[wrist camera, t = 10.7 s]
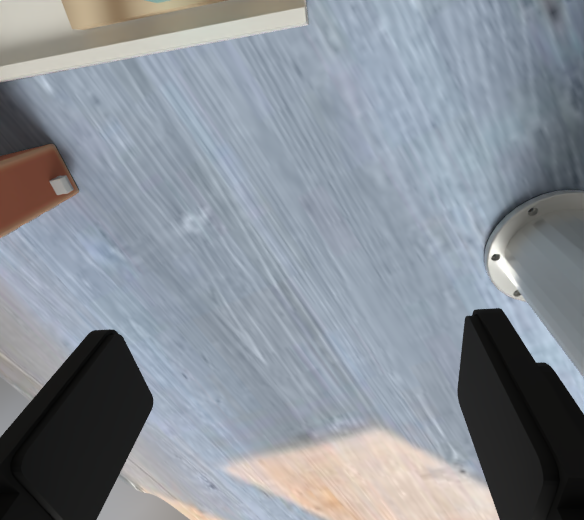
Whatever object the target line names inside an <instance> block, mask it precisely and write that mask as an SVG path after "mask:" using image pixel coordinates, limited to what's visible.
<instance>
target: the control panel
mask: <svg viewBox="0 0 584 520" xmlns="http://www.w3.org/2000/svg"><path fill="white" fill-rule="evenodd" d="M78 192H79V190H78V188H77V186H76V184H75V182H74V180H73V178H72V177H71V175H70V173H69V171H68V169H67V167H66V165H65V163H64V161H63V160H62V158H61V156H60V154H59V152H58V150H57V148H56V146H55V145H54V144H48V145H44V146H40V147H36V148H31V149H27V150H23V151H19V152H15V153H11V154H7V155H2V156H0V238H1V237H4V236H6V235H8V234H10V233H11V232H13V231H15V230H16V229H18V227H20V226H22V225H23V224H25V223H29V222H30V221H32V220H34V219H35V218H37V217H39V216H40V215H41V214H43V213H44V212H47V211H49V210H51V209H53V208H54V207H56V206H58V205H59V204H60V203H62V202H63V201H65V200H67V199H69V198H70V197H72V196H74V195H76V194H77V193H78Z"/></svg>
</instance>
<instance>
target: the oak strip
mask: <svg viewBox="0 0 584 520" xmlns="http://www.w3.org/2000/svg"><path fill="white" fill-rule="evenodd" d="M61 1H62V4H63V6H64V9H65V12H66V14H67V17H68V19H69V22H70V25H71V27H72V29H77V30H86V29H91V28H96V27H101V26H105V25H110V24H115V23H120V22H125V21H130V20H135V19H139V18H144V17H149V16H154V15H159V14H164V13H169V12H173V11H178V10H183V9H188V8H193V7H198V6H203V5H207V4H212V3H217V2H222V1H227V0H170V1H165V2H160V3H154V2H150V1H146V0H61Z"/></svg>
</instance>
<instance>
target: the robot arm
mask: <svg viewBox="0 0 584 520" xmlns="http://www.w3.org/2000/svg"><path fill="white" fill-rule="evenodd" d="M484 263H485V268H486V271H487V274H488V276H489V278H490V279H491V281H492V282H493V284H494V285H495V286H496V287H497V289H498V290H500V291H501V292H502V293H504V294H505V295H507V296H509V297H511V298H513V299H517V300H520V301H524V302H527V303H528V304H529V305H530V307H531V308H532V309H533V311H534V312H535V313H536V315H537V316H538V317H539V319H540V320H541V321H542V323H543V324H544V326H545V327H546V328H547V330H548V331H549V332H550V334H551V335H552V336H553V338H554V339H555V340H556V342H557V343H558V344H559V346H560V347H561V348H562V350H563V351H564V352H565V354H566V355H567V356H568V358H569V359H570V360H571V362H572V363H573V364H574V366H575V367H576V368H577V370H578V371H579V372H580V374H581V375H582V376H583V378H584V190H561V191H554V192H550V193H546V194H543V195H540V196H538V197H535V198H533V199H530V200H528V201H527V202H525V203H523V204H521V205H520V206H518V207H516V208H515V209H514V210H513V211H511V212H510V213H509V214H508V215H506V216H505V217H504V218H503V220H502V221H501V222H500V223H499V224H498V225H497V226H496V228H495V229H494V231H493V232H492V234H491V235H490V238H489V240H488V242H487V245H486V249H485V254H484ZM458 399H459V404H460V407H461V410H462V413H463V415H464V418H465V421H466V424H467V427H468V430H469V433H470V435H471V438H472V441H473V444H474V447H475V450H476V453H477V456H478V458H479V461H480V464H481V467H482V470H483V473H484V476H485V478H486V481H487V484H488V487H489V490H490V493H491V496H492V499H493V501H494V504H495V507H496V510H497V513H498V516H499V519H500V520H584V414H583V413H582V411H581V410H580V408H579V407H578V405H577V404H576V402H575V401H574V399H573V398H572V396H571V395H570V393H569V392H568V390H567V389H566V387H565V386H564V384H563V383H562V381H561V380H560V379H559V377H558V376H557V374H556V373H555V371H554V370H553V369H552V368H551V366H549V365H548V364H546V363H536V362H535V360H534V359H533V357H532V356H531V354H530V353H529V351H528V349H527V348H526V346H525V345H524V343H523V342H522V340H521V338H520V337H519V335H518V334H517V332H516V331H515V329H514V327H513V326H512V324H511V323H510V321H509V320H508V318H507V316H506V315H505V313H504V312H503V311H502V309H500V308H496V309H478V310H474V312H473V315H472V316H466V318H465V324H464V333H463V343H462V352H461V362H460V371H459V381H458ZM152 407H153V396H152V394H151V392H150V390H149V388H148V386H147V384H146V382H145V380H144V378H143V376H142V374H141V372H140V370H139V368H138V366H137V364H136V362H135V360H134V358H133V356H132V354H131V352H130V350H129V348H128V346H127V344H126V342H125V340H124V338H123V337H122V336H121V335H120V334H118V333H117V332H116V331H115V330H94V331H92V332H90V333H89V334H88V335H87V336H86V338H85V339H84V340H83V341H82V342H81V343H80V345H79V346H78V347H77V348H76V349H75V350H74V352H73V353H72V354H71V355H70V356H69V357H68V359H67V360H66V361H65V362H64V363H63V365H62V366H61V367H60V368H59V369H58V370H57V372H56V373H55V374H54V375H53V376H52V377H51V379H50V380H49V381H48V382H47V383H46V384H45V386H44V387H43V388H42V389H41V390H40V392H39V393H38V394H37V395H36V396H35V397H34V399H33V400H32V401H31V402H30V403H29V404H28V406H27V407H26V408H25V409H24V410H23V412H22V413H21V414H20V415H19V416H18V417H17V419H16V420H15V421H14V422H13V423H12V424H11V426H10V427H9V428H8V429H7V430H6V431H5V433H4V434H3V435H2V436H1V437H0V520H96V519H97V517H98V515H99V513H100V511H101V509H102V507H103V505H104V503H105V501H106V499H107V497H108V495H109V493H110V491H111V489H112V487H113V486H114V484H115V482H116V480H117V478H118V476H119V474H120V472H121V470H122V468H123V466H124V464H125V462H126V460H127V458H128V456H129V454H130V452H131V450H132V448H133V446H134V444H135V442H136V440H137V438H138V436H139V434H140V432H141V430H142V428H143V426H144V424H145V422H146V420H147V418H148V416H149V414H150V412H151V410H152Z"/></svg>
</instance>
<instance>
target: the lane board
mask: <svg viewBox="0 0 584 520" xmlns="http://www.w3.org/2000/svg"><path fill="white" fill-rule="evenodd" d="M305 25H309V23H308V14H307V4H306V0H227V1H222V2H217V3H212V4H207V5H203V6H198V7H193V8H188V9H183V10H178V11H173V12H169V13H164V14H159V15H154V16H149V17H144V18H139V19H135V20H130V21H125V22H120V23H115V24H110V25H105V26H101V27H96V28H91V29H86V30H77V29H72V27H71V25H70V22H69V19H68V17H67V14H66V12H65V9H64V6H63V4H62V1H61V0H0V83H1V82H6V81H12V80H17V79H22V78H28V77H33V76H38V75H44V74H49V73H54V72H60V71H65V70H70V69H76V68H81V67H86V66H92V65H97V64H102V63H108V62H113V61H118V60H124V59H129V58H134V57H140V56H145V55H150V54H156V53H161V52H166V51H172V50H177V49H182V48H188V47H193V46H198V45H204V44H209V43H214V42H220V41H225V40H230V39H236V38H241V37H246V36H252V35H257V34H262V33H268V32H273V31H278V30H284V29H289V28H294V27H300V26H305Z"/></svg>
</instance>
